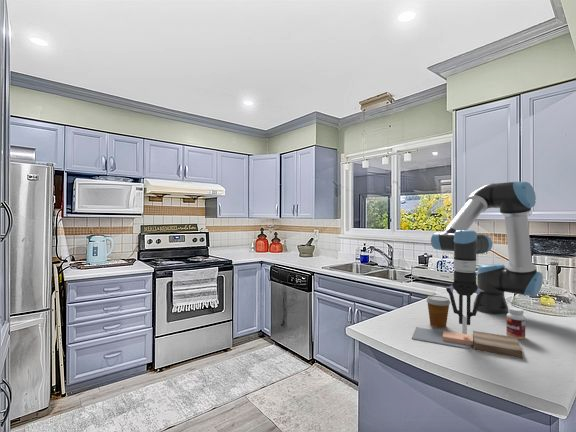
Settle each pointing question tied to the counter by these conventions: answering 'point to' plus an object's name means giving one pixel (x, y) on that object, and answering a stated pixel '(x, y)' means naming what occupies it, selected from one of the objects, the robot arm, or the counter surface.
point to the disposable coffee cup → (438, 310)
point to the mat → (435, 337)
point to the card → (457, 337)
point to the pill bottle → (516, 323)
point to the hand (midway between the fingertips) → (464, 332)
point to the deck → (497, 344)
